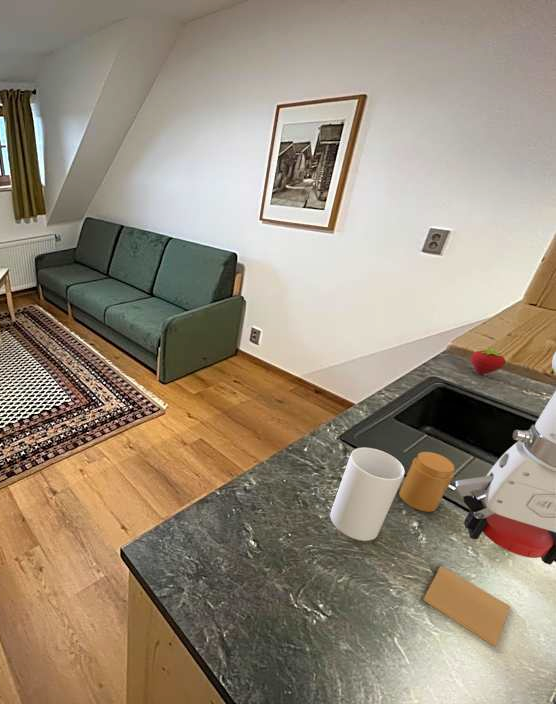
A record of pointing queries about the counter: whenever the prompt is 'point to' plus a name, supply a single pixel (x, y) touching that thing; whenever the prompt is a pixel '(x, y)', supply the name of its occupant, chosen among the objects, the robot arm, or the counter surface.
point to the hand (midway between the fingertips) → (506, 542)
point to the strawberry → (487, 361)
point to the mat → (467, 605)
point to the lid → (518, 536)
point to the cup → (366, 493)
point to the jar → (427, 481)
